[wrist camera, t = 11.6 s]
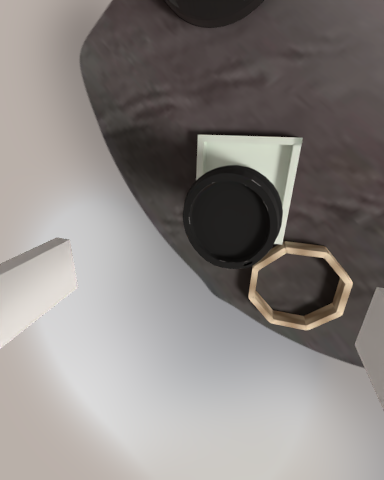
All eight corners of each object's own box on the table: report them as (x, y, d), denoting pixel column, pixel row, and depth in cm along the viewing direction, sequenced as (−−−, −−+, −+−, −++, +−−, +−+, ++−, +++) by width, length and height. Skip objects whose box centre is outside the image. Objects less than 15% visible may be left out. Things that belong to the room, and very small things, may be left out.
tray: (201, 134, 32) (197, 134, 30) (300, 137, 29) (302, 137, 27) (197, 228, 37) (194, 233, 35) (281, 239, 34) (282, 244, 32)
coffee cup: (228, 229, 35) (206, 285, 21) (200, 176, 33) (156, 200, 20) (286, 203, 31) (304, 251, 18) (258, 142, 30) (254, 144, 16)
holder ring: (256, 237, 35) (256, 243, 33) (355, 249, 32) (361, 257, 30) (246, 309, 39) (245, 317, 37) (331, 325, 36) (335, 336, 35)
